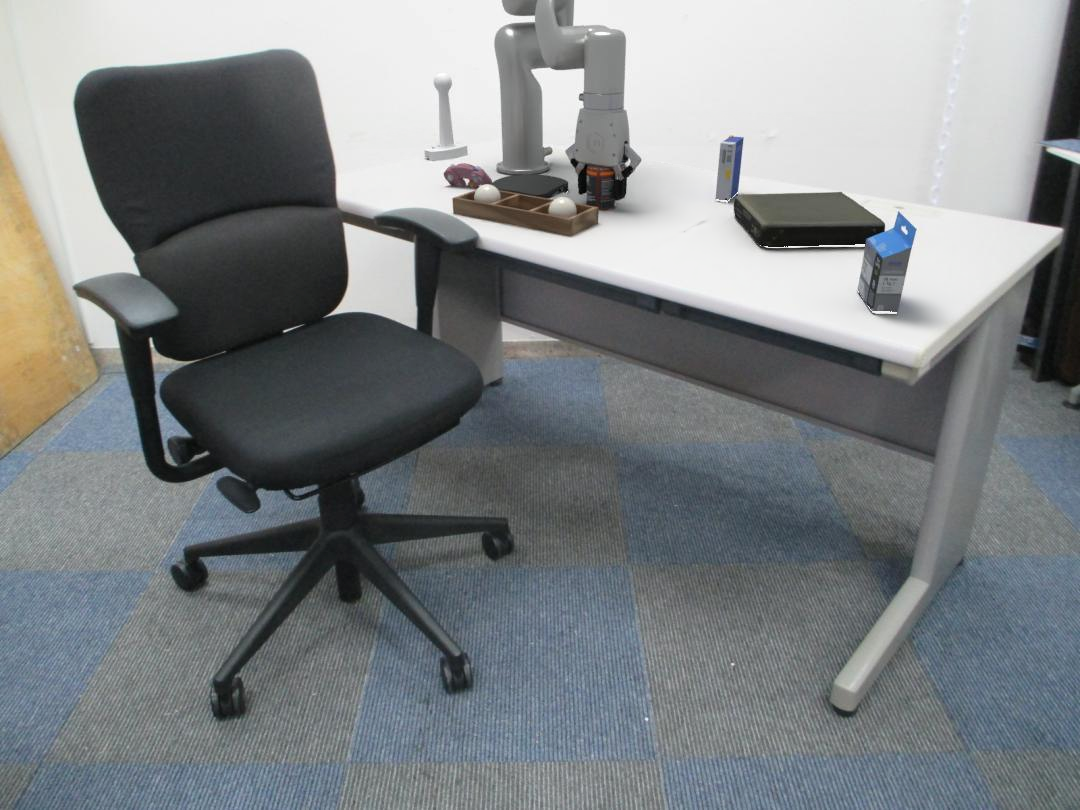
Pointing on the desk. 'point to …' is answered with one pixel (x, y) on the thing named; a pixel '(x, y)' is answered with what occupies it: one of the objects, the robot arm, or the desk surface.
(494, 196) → the egg
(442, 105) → the joystick
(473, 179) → the video game controller
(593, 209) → the holder
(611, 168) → the supplement bottle
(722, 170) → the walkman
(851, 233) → the network switch
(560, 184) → the media streaming box
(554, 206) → the egg
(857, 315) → the desk surface
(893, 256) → the grey and blue box
